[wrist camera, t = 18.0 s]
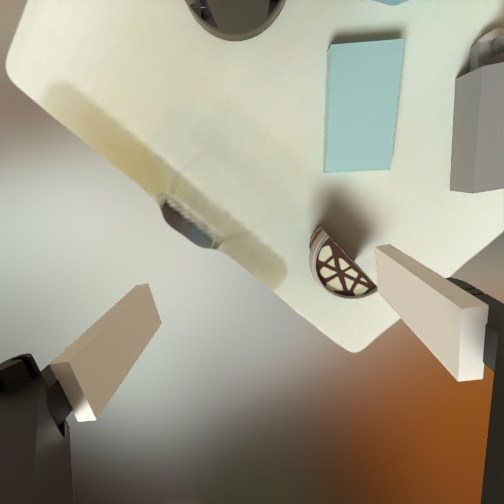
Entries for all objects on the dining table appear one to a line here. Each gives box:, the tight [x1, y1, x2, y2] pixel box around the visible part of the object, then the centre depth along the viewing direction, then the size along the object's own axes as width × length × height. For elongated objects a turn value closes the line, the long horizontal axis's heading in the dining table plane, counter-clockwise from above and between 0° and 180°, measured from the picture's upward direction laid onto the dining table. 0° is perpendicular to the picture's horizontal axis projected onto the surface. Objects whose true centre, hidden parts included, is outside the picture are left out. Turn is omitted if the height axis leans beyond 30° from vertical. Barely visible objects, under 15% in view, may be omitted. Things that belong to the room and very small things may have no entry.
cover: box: [323, 39, 405, 173], centre depth 39 cm, size 17×10×3 cm, turn 3°
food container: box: [309, 226, 377, 299], centre depth 43 cm, size 12×6×10 cm, turn 45°
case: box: [450, 27, 504, 193], centre depth 37 cm, size 21×8×5 cm, turn 10°
